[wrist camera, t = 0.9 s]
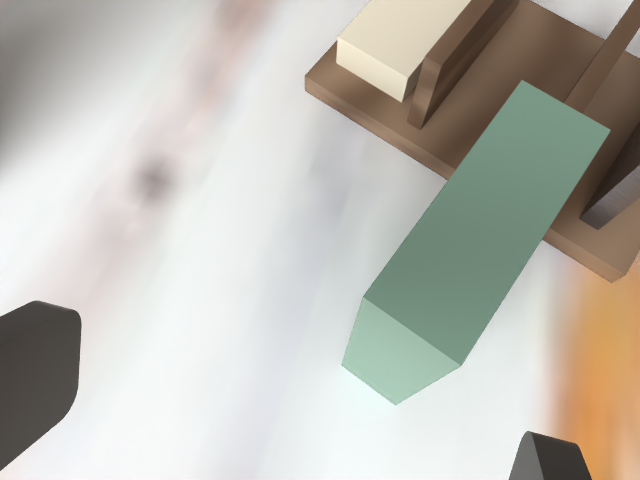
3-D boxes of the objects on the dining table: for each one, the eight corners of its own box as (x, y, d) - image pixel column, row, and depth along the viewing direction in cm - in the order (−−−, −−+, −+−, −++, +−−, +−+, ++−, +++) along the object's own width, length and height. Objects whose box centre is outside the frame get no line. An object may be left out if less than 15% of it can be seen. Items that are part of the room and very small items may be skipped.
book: (341, 365, 30) (362, 296, 17) (439, 228, 33) (522, 79, 20) (395, 405, 29) (461, 366, 16) (490, 261, 32) (610, 130, 19)
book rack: (305, 90, 36) (302, 3, 29) (420, -38, 40) (442, -141, 33) (611, 282, 32) (695, 234, 25) (706, 116, 36) (801, 34, 29)
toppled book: (336, 62, 35) (337, 36, 33) (421, -32, 38) (427, -63, 36) (401, 102, 34) (407, 78, 32) (483, 2, 37) (494, -27, 35)
